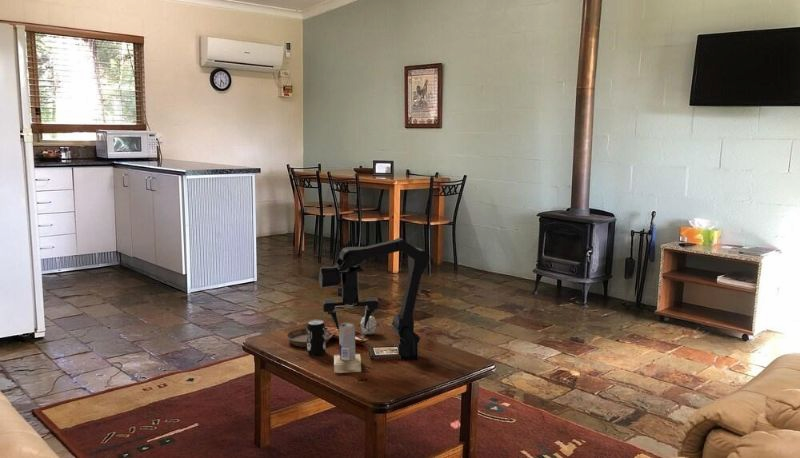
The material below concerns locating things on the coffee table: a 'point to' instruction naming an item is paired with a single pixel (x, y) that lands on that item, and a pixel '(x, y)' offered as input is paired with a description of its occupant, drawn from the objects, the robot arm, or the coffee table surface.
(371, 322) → the game die
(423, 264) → the robot arm
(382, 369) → the coffee table surface
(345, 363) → the plinth
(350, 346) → the energy drink
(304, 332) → the plant saucer
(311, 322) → the beverage can
